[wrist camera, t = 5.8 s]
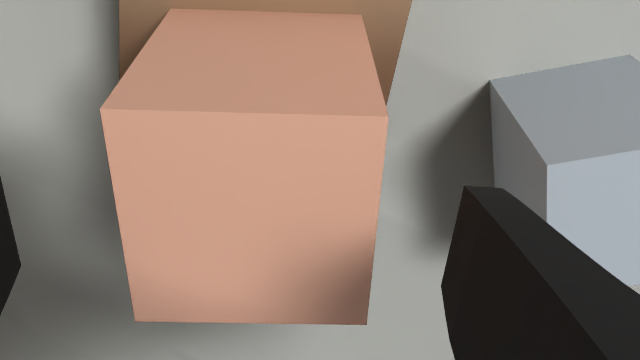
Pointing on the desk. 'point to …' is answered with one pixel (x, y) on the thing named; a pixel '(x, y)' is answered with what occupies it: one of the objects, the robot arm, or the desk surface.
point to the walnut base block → (372, 3)
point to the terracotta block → (249, 168)
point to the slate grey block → (575, 154)
